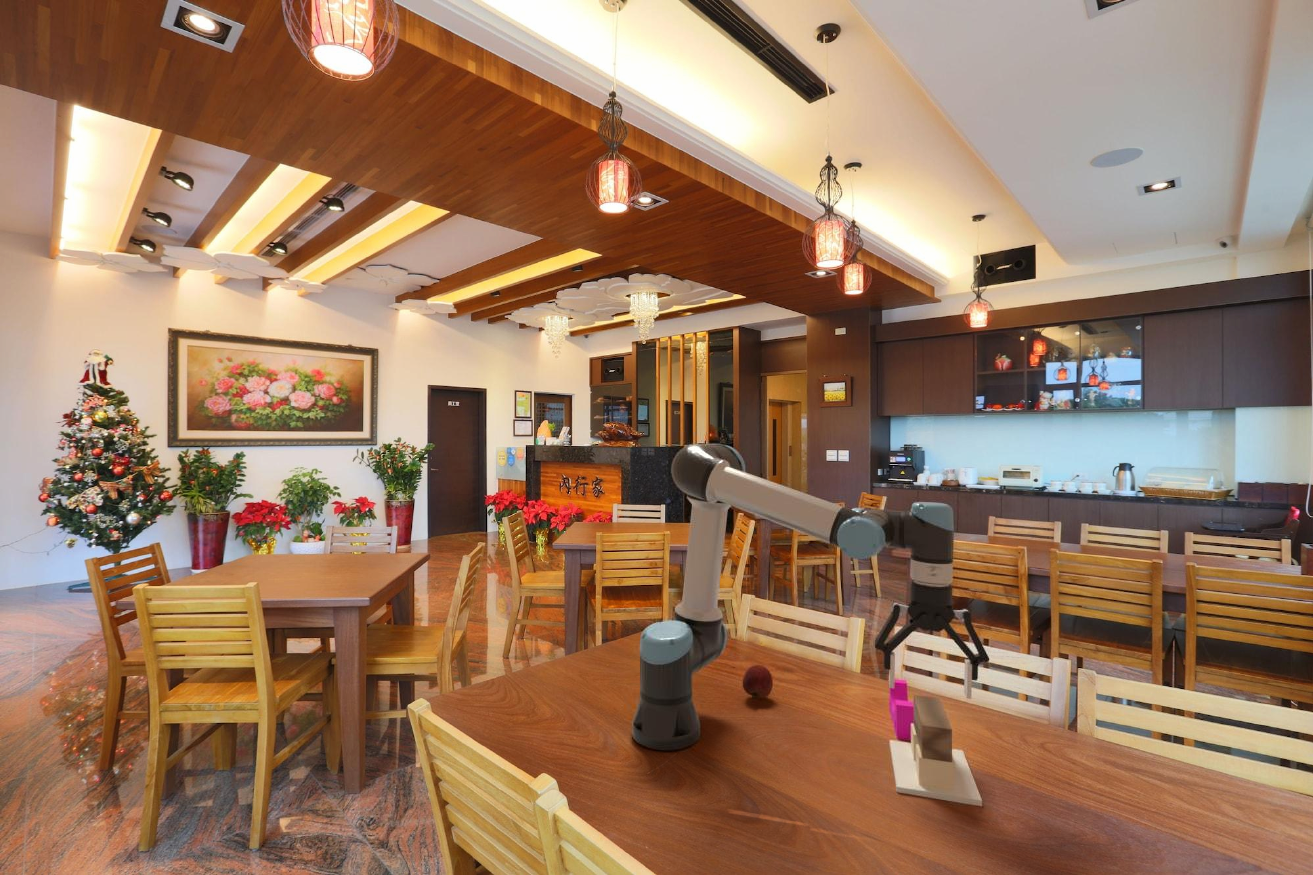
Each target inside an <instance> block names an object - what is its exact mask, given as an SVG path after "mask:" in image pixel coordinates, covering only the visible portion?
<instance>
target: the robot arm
mask: <svg viewBox="0 0 1313 875" xmlns="http://www.w3.org/2000/svg"><path fill="white" fill-rule="evenodd" d="M670 468H671V470H670V471H671V477H672V480H673V482H674V483H675V485H676V487H677V488H678V489H679V490H681V491H682V493H685V494H686V498H687V500H688V502H690V504H691V513H690V523H689V533H688V540H687V541H688V542H687V551H686V561H685V568H684V571H685V572H684V579H683V580H684V581H683V588H682V598H681V602H680V603H678V604H677V605H676V606H675V607H674V614H673V620H672V619H671V620H670V619H669V620H662V621H661V622H660V621H657V622H654V623H652V624H649V625H648V626H646V627H645V628H644V630H643V631H642V633H641V635H640V642H639V643H640V644H639V648H638V649H639V650H638V651H639V652H638V653H639V700H638V702H637V703H638V704H637V706H636V710H635V712H634V716H633V719H632V723H631V734H632V738H633V739H634V740H635V742H637V743H638V744H639V745H640V746H641V745H642V746H643V747H646V748H648V749H651V750H658V751H659V750H660V751H676V750H681V749H685V748H688V747H690V746H692V745H694V744H695V743H697V741H698V740H699V739H700V736H701V724H700V719H699V716H698V713H697V709H696V707H695V702H694V700H693V675H694V674H696V673H697V672H699V671H701V670H702V669H703V668H705V667H706V666H708V665H710V664H712V663H713V662H714V661H716V660H717V659H718V658H719V657H720V655H721V654H723V652H724V650H725V648H726V645H727V641H728V633H727V632H728V631H727V628H726V625H725V624H724V622H723V615H724V614H723V612H722V611H721V609H720V608H719V607H718V602H719V593H720V583H721V574H722V566H723V556H724V548H725V547H724V546H725V540H726V539H725V537H726V529H727V528H726V527H727V518H728V510H729V509H730V508H731V507H734V508H736V509H739V510H742V511H745V512H747V513H750V514H752V515H754V516H758V517H760V518H762V519H765V520H768V521H771V522H773V523H775V524H778V525H781V526H783V527H785V528H788V529H791V530H794V531H796V532H799V533H801V534H804V535H807V536H809V537H812V538H814V539H817V540H820V541H822V542H825V543H827V544H830V545H833V546H835V547H837V548H840V550H841V551H842V553H843V554H845V555H846V556H847V557H849V558H852V559H854V560H866V559H870V558H872V557H875V556H876V555H878V554H880V553H881V551H882V550H883V549H885V548H891V549H892V548H894V549H901V550H910V571H909V572H910V576H909V578H911V581H910V582H909V602H908V605H904V604H901V603H900V604H899V602H897V601H894V602H893V603H892V606H891V612H890V614H889V616H888V618H887V619H886V621H885V623H884V624H883V626H882V628H881V630H880V631H879V632H878V635H877V636H876V638H875V640H874V648H875V649H876V650H880V651H881V652H883V668H884V670H888V672H889V673H888V675H889V676H888V677H889V678H888V685H889V684H890V688H894V679H895V675H896V674H895V672H896V671H895V668H896V666H895V664H896V653H895V651H894V650H895V649H896V648H897V647H898V646H899V645H901V643H903V642H904V641H905V640H906V639H907V638H908V637H909V636H910V635H911V634H912V633H913V632H916V630H917V629H920V630H922V631H926V632H927V631H933V632H936V633H940V632H942V631H945V632H946V633H947V634H948V636H949V637H950V638H951V639H952V640H953V642H954V643H955V644H956V645H957V646H958V647H959V649H960V650H961V651H962V652H963V654H964V655H965V656H966V657H967V659H966V658H965V659H964V682H963V684H964V686H963V692H964V695H965V697H966V699H969V700H971V699H972V686H973V685H972V683H973V681H977V680H978V678H979V665H980V663H989V662H990V657H989V655H988V653H987V651H986V650H985V648H984V645H983V643H982V641H981V639H980V638H979V635H978V634H977V632H976V629H975V628H974V625H973V623H972V617H971V616H972V614H971V613H970V611H969V610H968V609H967V608H962V609H960V610H958V609H956V610H955V609H953V589H954V588H953V585H951V584H952V583H953V582H954V581H953V579H954V578H953V577H954V576H953V574H954V572H953V571H954V570H953V569H954V567H953V566H954V564H953V563H954V539H955V538H954V537H955V536H954V534H955V526H954V525H955V524H954V510H953V507H952V506H951V505H949V504H946V503H942V502H931V501H930V502H929V501H917V502H913V503H912V505H911V509H910V510H907V511H906V510H903V511H901V510H892V509H891V510H890V509H880V508H871V507H854V508H852V509H850V508H848V507H847V508H846V507H844V506H841V505H839V504H837V503H834V502H831V501H827V500H826V499H825V500H824V499H822V498H818V497H816V496H814V495H811V494H807V493H804V492H802V491H799V490H796V489H794V488H791V487H788V486H786V485H782V484H781V483H780V484H779V483H776V482H773V481H771V480H768V479H765V478H762V477H759V476H757V475H753V474H751V473H749V472H748V473H747V472H746V464H745V461H744V459H743V457H742V455H741V454H740V452H739V451H737V450H736V449H735V448H734V447H732V446H730V445H726V444H721V443H693V444H689V445H686V446H685V447H683V448H682V449H680V450H679V451H678V452H677V453H676V455H675V456H674V458H673V460H672V462H671V467H670ZM904 613H908V615H909V616H910V619H908V621H906V623H905V624H904V625H903V626H902V627H901V628H900V629H899V630H898V631H897V632H896V633H895V634H894V635H893V636H891V638H890V639H889V640H888V641H887V639H888V637H889V636H890V634H891V632H892V630H893V629H894V628H895V626H896V624H897V622H898V620H899V618H900V617H901V616H903V615H905V614H904ZM955 617H956V618H957V619H958V621H959V622H960V623H963V626H964V627H965V630H966V631H967V634H968V635H969V637H970V639H971V641H972V643H973V645H974V647H975V649H976V651H977V653H974V652H973V651H972V650H971V648H970V647H969V646H968V645H967V643H966V642H964V640H963V638H961V636H960V635H959V634H958V633H957V631H956V630H955V629H954V628H953V627H952V625H951V624H950V623H951V622H952V621H953V620H954V619H955ZM886 641H887V642H886Z"/></svg>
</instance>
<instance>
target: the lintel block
mask: <svg viewBox="0 0 1313 875" xmlns="http://www.w3.org/2000/svg"><path fill="white" fill-rule="evenodd" d="M913 702H914V727H915V731H916V735H917V739H918V743H919V747H920V751H921V755H922V758H925V759H932V760H938V761H945V762H952V749H953V728H952V725H951V723H950V721H949V718H948V716H947V712H946V710H945V708H944V704H943V702H942V699H941V698H940V697H936V696H935V697H934V696H927V695H919V694H913Z"/></svg>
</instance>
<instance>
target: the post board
mask: <svg viewBox="0 0 1313 875" xmlns="http://www.w3.org/2000/svg"><path fill="white" fill-rule="evenodd" d="M889 749H890V755H891V762H892V769H893V775H894V781H895V782H894V783H895V790H896V793H899V794H904V795H905V794H906V795H911V796H917V797H923V798H930V799H936V800H943V801H948V802H954V803H960V804H966V805H973V806H977V807H978V806H979V807H983V799H982V796H981V795H980V792H979V790H978V786H977V784H976V780H975V779H974V777H973V773H972V771H971V769H970V768H971V767H969V764H968V760H967V758H966V756H965V753H964V751H963V750H962V749H956V748H955V749H954V748H952V762H945V761H938V760H932V759H925V758H922V755H921V751H920V747H919V743H918V739H917V735H916V731H915V727H914V724H913V723H911V740H910V742H906V741H901V740H894V739H893V740H892V739H889Z"/></svg>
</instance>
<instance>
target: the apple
mask: <svg viewBox="0 0 1313 875" xmlns="http://www.w3.org/2000/svg"><path fill="white" fill-rule="evenodd" d="M773 684H774V683H773V676H772V673H771V672H770V670H769V669H768V668H767V666H764V665H763V664H762V665H761V664H756V665H755V664H754V665H752V666H750V667H749V668H748V669H747V670H746V671H745V673H744V675H743V678H742V689H743V690H744V691H745V693H746V694H748V695H750V696H751V698H752V699H754V698H758V699H764V698H767V697H768V696H770V694H771V692H772V690H773Z"/></svg>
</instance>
